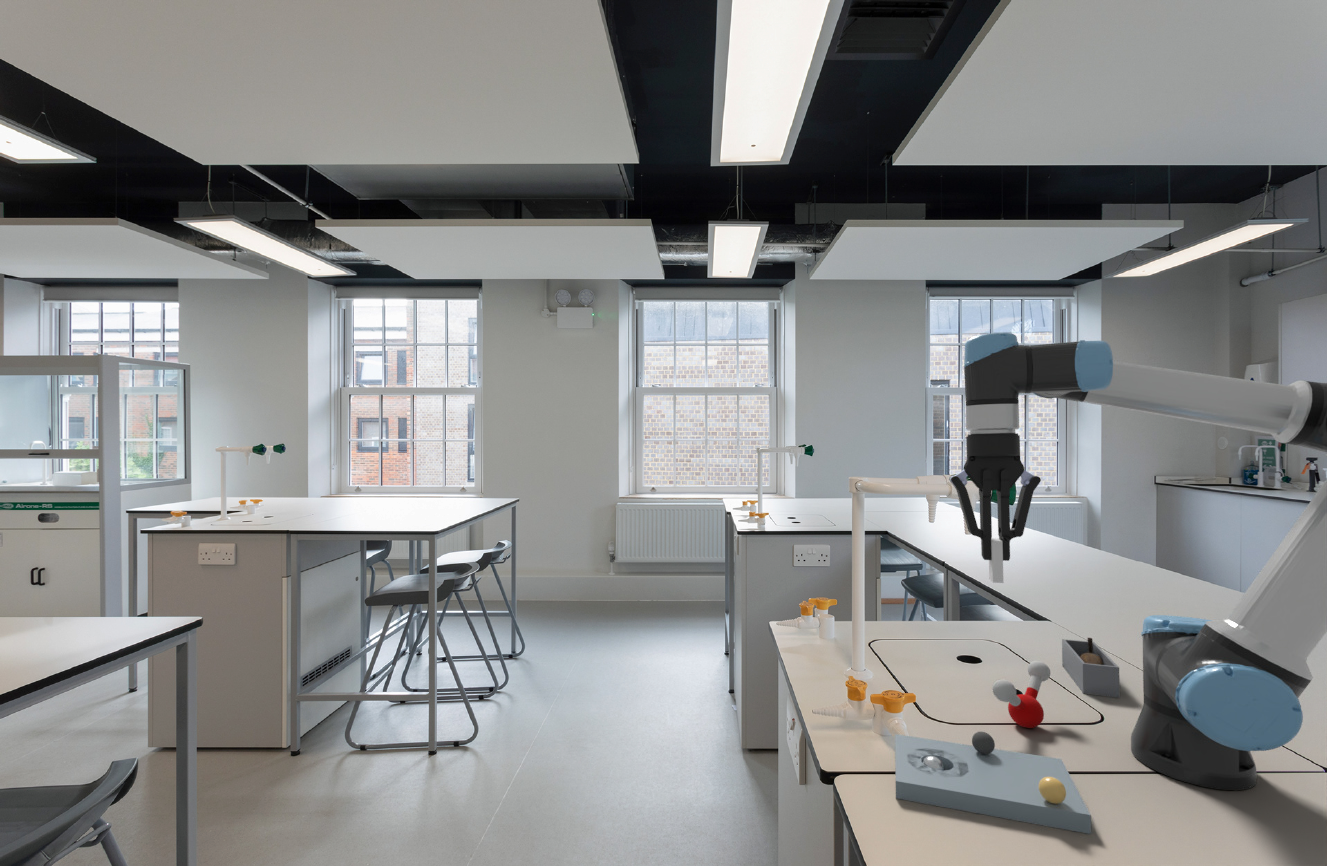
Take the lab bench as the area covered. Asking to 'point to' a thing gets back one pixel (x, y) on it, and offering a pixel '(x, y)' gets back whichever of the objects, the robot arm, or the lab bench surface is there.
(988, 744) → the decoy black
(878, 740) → the lab bench surface
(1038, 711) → the molecular model
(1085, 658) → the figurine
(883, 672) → the lab bench surface
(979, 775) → the plate
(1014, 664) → the lab bench surface
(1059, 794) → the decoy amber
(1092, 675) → the open storage box
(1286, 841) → the lab bench surface
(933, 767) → the steel ball
